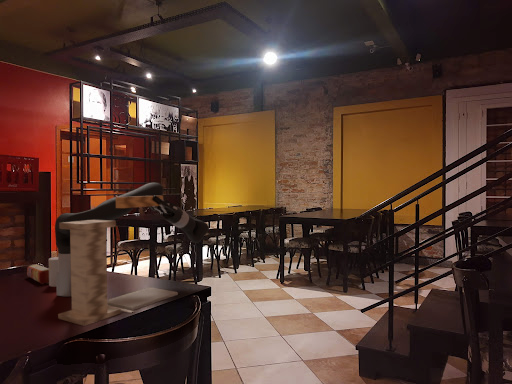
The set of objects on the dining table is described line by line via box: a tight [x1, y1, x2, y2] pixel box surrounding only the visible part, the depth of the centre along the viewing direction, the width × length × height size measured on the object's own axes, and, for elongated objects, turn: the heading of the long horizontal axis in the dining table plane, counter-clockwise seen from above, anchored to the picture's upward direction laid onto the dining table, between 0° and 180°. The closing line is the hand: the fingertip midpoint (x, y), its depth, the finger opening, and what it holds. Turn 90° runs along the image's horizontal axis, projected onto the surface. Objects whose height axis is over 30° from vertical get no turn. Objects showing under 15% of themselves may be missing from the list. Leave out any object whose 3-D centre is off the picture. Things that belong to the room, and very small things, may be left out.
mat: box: [107, 286, 179, 311], centre depth 150 cm, size 23×16×1 cm
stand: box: [57, 220, 122, 327], centre depth 131 cm, size 14×14×32 cm
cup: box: [48, 256, 58, 288], centre depth 176 cm, size 8×8×12 cm
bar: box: [115, 195, 164, 209], centre depth 150 cm, size 20×4×4 cm, turn 148°
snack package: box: [26, 264, 49, 285], centre depth 185 cm, size 21×7×7 cm, turn 44°
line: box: [107, 305, 135, 314], centre depth 139 cm, size 2×20×1 cm, turn 58°
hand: (149, 197), depth 154 cm, fingers closed on bar, 4 cm apart
